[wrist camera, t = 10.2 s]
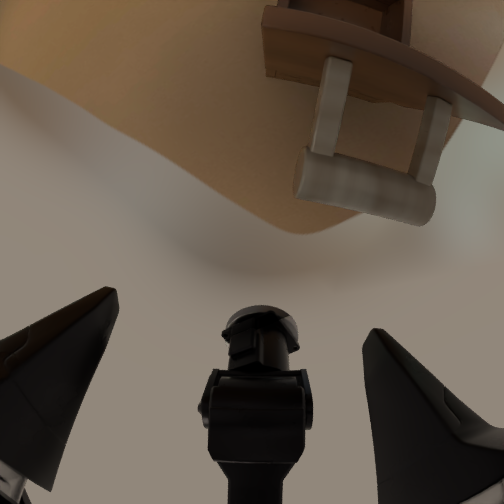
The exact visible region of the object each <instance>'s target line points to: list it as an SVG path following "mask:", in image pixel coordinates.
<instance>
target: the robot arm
mask: <svg viewBox="0 0 504 504" xmlns="http://www.w3.org/2000/svg"><path fill="white" fill-rule="evenodd" d="M118 313H119V303H118V296H117V291H116V289H115V288H111V287H106V286H105V287H103V288H101V289H99V290H97V291H95V292H93V293H91V294H89V295H87V296H85V297H83V298H81V299H79V300H77V301H75V302H73V303H71V304H69V305H67V306H65V307H64V308H61V309H60V310H58V311H56V312H54V313H52V314H50V315H48V316H47V317H44V318H43V319H41V320H39V321H37V322H35V323H33V324H31V325H30V327H29V326H27V327H26V328H24V329H22V330H20V331H18V332H16V333H14V334H12V335H10V336H9V337H6V338H5V339H2V340H0V504H31V502H30V500H29V497H28V495H27V493H26V490H25V488H24V487H25V484H26V482H27V479H29V480H31V481H32V482H34V483H35V484H37V485H39V486H40V487H42V488H44V489H46V490H48V491H49V492H51V490H52V487H53V484H54V480H55V477H56V474H57V470H58V467H59V464H60V461H61V458H62V455H63V452H64V449H65V446H66V443H67V440H68V437H69V435H70V432H71V429H72V427H73V424H74V421H75V419H76V416H77V414H78V411H79V409H80V406H81V404H82V401H83V399H84V396H85V394H86V392H87V389H88V387H89V385H90V382H91V380H92V378H93V375H94V373H95V371H96V369H97V367H98V364H99V362H100V360H101V358H102V356H103V354H104V351H105V349H106V346H107V344H108V341H109V338H110V335H111V332H112V329H113V327H114V324H115V321H116V319H117V316H118ZM269 315H272V316H269ZM226 334H228V335H226ZM221 336H222V337H223V338H224V340H225V341H226V342H227V343H228V344H229V352H228V355H229V356H230V358H229V364H228V370H219V369H213V371H212V374H211V375H210V377H209V379H208V382H207V385H206V388H205V390H204V393H203V396H202V399H201V402H200V403H199V405H198V412H199V413H200V414H201V415H202V420H203V425H204V427H205V428H207V429H208V451H209V453H210V455H211V457H212V459H213V460H214V461H217V463H218V464H219V466H220V468H221V469H222V471H223V472H224V474H225V475H226V477H227V478H228V504H282V490H283V480H284V478H285V477H286V476H287V474H288V473H289V471H290V470H291V468H292V467H293V466H294V464H295V463H297V462H298V460H299V458H300V457H301V455H302V453H303V451H304V448H305V430H310V429H311V427H312V422H313V399H312V393H311V388H310V384H309V380H308V375H307V371H306V369H301V370H292V371H291V370H289V356H288V354H290V353H293V352H295V351H297V350H299V348H300V346H299V343H298V342H297V341H296V339H295V338H294V337H293V335H292V334H291V333H290V331H289V330H288V329H287V327H286V326H285V325H284V323H283V322H282V321H281V319H280V318H279V317H278V315H277V314H276V313H275V312H274V311H272V310H269V311H267V312H265V313H262V314H260V315H258V316H255V317H253V318H250V319H248V320H245V321H243V322H241V323H238V324H236V325H234V326H232V327H230V328H227V329H225V330H223V331H222V334H221ZM362 354H363V365H364V380H365V389H366V395H367V402H368V408H369V415H370V422H371V429H372V437H373V445H374V454H375V464H376V475H377V485H378V486H377V488H378V489H377V490H378V504H504V428H497V427H494V426H492V425H490V424H488V423H487V422H486V421H484V420H483V419H482V418H481V417H480V416H478V415H477V414H476V413H475V412H474V411H472V410H471V409H470V408H468V407H467V406H466V405H465V404H464V403H463V402H461V401H460V400H459V399H458V398H457V397H456V396H455V395H454V394H453V393H452V392H451V391H450V390H449V389H447V388H446V387H444V385H443V384H442V383H441V382H440V381H439V380H438V379H437V378H436V377H435V376H434V375H433V374H432V373H431V372H429V371H428V370H427V369H426V368H425V367H424V366H423V365H422V364H421V363H420V362H419V361H418V360H417V359H415V358H414V357H413V356H412V355H411V354H410V353H409V352H408V351H407V350H406V349H405V348H403V347H402V346H401V345H400V344H399V343H398V342H397V341H396V340H395V339H393V337H391V336H390V335H389V334H388V333H387V332H386V331H384V330H383V329H378V328H373V329H372V330H371V331H370V333H369V335H368V337H367V339H366V340H365V342H364V344H363V348H362Z"/></svg>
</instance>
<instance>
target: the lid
mask: <svg viewBox="0 0 504 504" xmlns="http://www.w3.org/2000/svg"><path fill="white" fill-rule="evenodd" d="M261 28H262V38H263V48H264V59H265V69H269V70H275V71H280V72H286V73H291V74H296V75H301V76H305V77H310V78H314V79H318V80H321V83H320V88H319V93H318V98H317V103H316V108H315V113H314V118H313V123H312V128H311V132H310V137H309V142H308V146H304V147H303V148H302V149H301V151H300V153H299V156H298V160H297V164H296V169H295V174H294V182H293V194H294V197H295V198H297V199H302V200H307V201H312V202H317V203H322V204H327V205H331V206H336V207H341V208H345V209H350V210H354V211H359V212H363V213H367V214H372V215H376V216H380V217H384V218H388V219H392V220H396V221H400V222H404V223H408V224H411V225H415V226H423V225H425V224H426V223H427V222H428V221H429V220H430V219H431V217H432V215H433V213H434V210H435V205H436V193H435V189H434V187H433V185H432V182H433V179H434V176H435V173H436V170H437V166H438V163H439V160H440V156H441V153H442V149H443V145H444V142H445V138H446V134H447V130H448V126H449V121H450V117H451V116H454V117H458V118H462V119H466V120H470V121H473V122H477V123H481V124H484V125H487V126H491V127H494V128H497V129H500V130H503V131H504V104H503V103H502V102H500V101H499V100H498V99H496V98H495V97H494V96H492V95H491V94H490V93H488V92H487V91H485V90H484V89H483V88H481V87H480V86H478V85H477V84H475V83H474V82H472V81H471V80H469V79H468V78H466V77H465V76H463V75H462V74H460V73H458V72H457V71H455V70H453V69H452V68H450V67H448V66H446V65H445V64H443V63H441V62H439V61H437V60H436V59H434V58H432V57H430V56H428V55H426V54H424V53H422V52H420V51H418V50H416V49H414V48H412V47H410V46H407V45H405V44H403V43H401V42H398V41H396V40H394V39H391V38H389V37H386V36H384V35H381V34H379V33H376V32H373V31H371V30H368V29H365V28H362V27H359V26H356V25H353V24H350V23H347V22H343V21H340V20H336V19H333V18H329V17H325V16H321V15H317V14H313V13H309V12H304V11H299V10H294V9H289V8H283V7H277V6H270V5H267V6H265V8H264V12H263V18H262V23H261ZM348 88H351V89H354V90H357V91H361V92H364V93H367V94H370V95H373V96H376V97H378V98H381V99H384V100H387V101H389V102H392V103H395V104H397V105H400V106H402V107H408V108H414V109H420V110H424V113H423V117H422V122H421V126H420V130H419V134H418V138H417V142H416V145H415V149H414V153H413V156H412V160H411V163H410V167H409V170H408V173H404V172H401V171H398V170H394V169H391V168H388V167H385V166H382V165H378V164H375V163H372V162H368V161H365V160H361V159H358V158H354V157H350V156H346V155H342V154H339V153H334V152H335V147H336V143H337V139H338V135H339V130H340V126H341V121H342V117H343V112H344V108H345V103H346V98H347V93H348Z"/></svg>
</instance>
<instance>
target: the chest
mask: <svg viewBox="0 0 504 504" xmlns="http://www.w3.org/2000/svg"><path fill="white" fill-rule="evenodd" d="M412 5H413V0H278V4H277V7H283V8H289V9H294V10H299V11H304V12H309V13H313V14H317V15H321V16H325V17H329V18H333V19H336V20H340V21H343V22H347V23H350V24H353V25H356V26H359V27H362V28H365V29H368V30H371V31H373V32H376V33H379V34H381V35H384V36H386V37H389V38H391V39H394V40H396V41H398V42H401V43H403V44H405V45H407V46H409V45H410V35H411V22H412ZM266 76H267V77H272V78H278V79H283V80H289V81H294V82H299V83H303V84H308V85H312V86H316V87H320V83H321V80H318V79H314V78H310V77H305V76H301V75H296V74H291V73H286V72H280V71H275V70H269V69H266ZM347 95H350V96H353V97H356V98H360V99H363V100H366V101H369V102H372V103H381V102H389V101H387V100H384V99H381V98H378V97H376V96H373V95H370V94H367V93H364V92H361V91H357V90H354V89H351V88H348V93H347Z"/></svg>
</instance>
